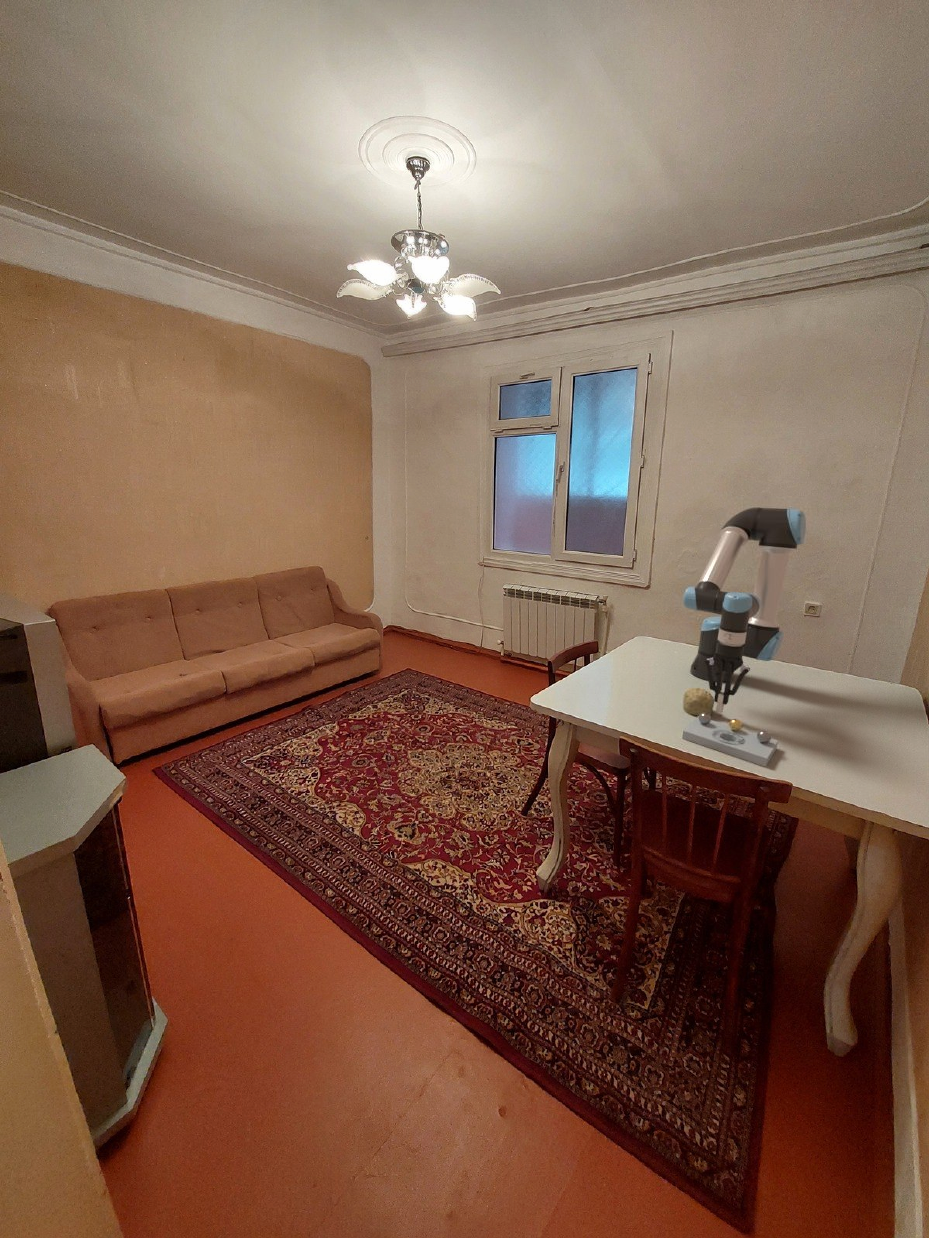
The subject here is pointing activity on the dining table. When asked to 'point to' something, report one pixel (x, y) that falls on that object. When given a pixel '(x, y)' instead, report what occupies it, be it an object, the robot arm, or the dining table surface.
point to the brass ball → (735, 724)
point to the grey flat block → (730, 741)
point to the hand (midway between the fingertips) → (719, 711)
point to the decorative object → (698, 701)
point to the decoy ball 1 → (704, 718)
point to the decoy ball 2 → (764, 736)
